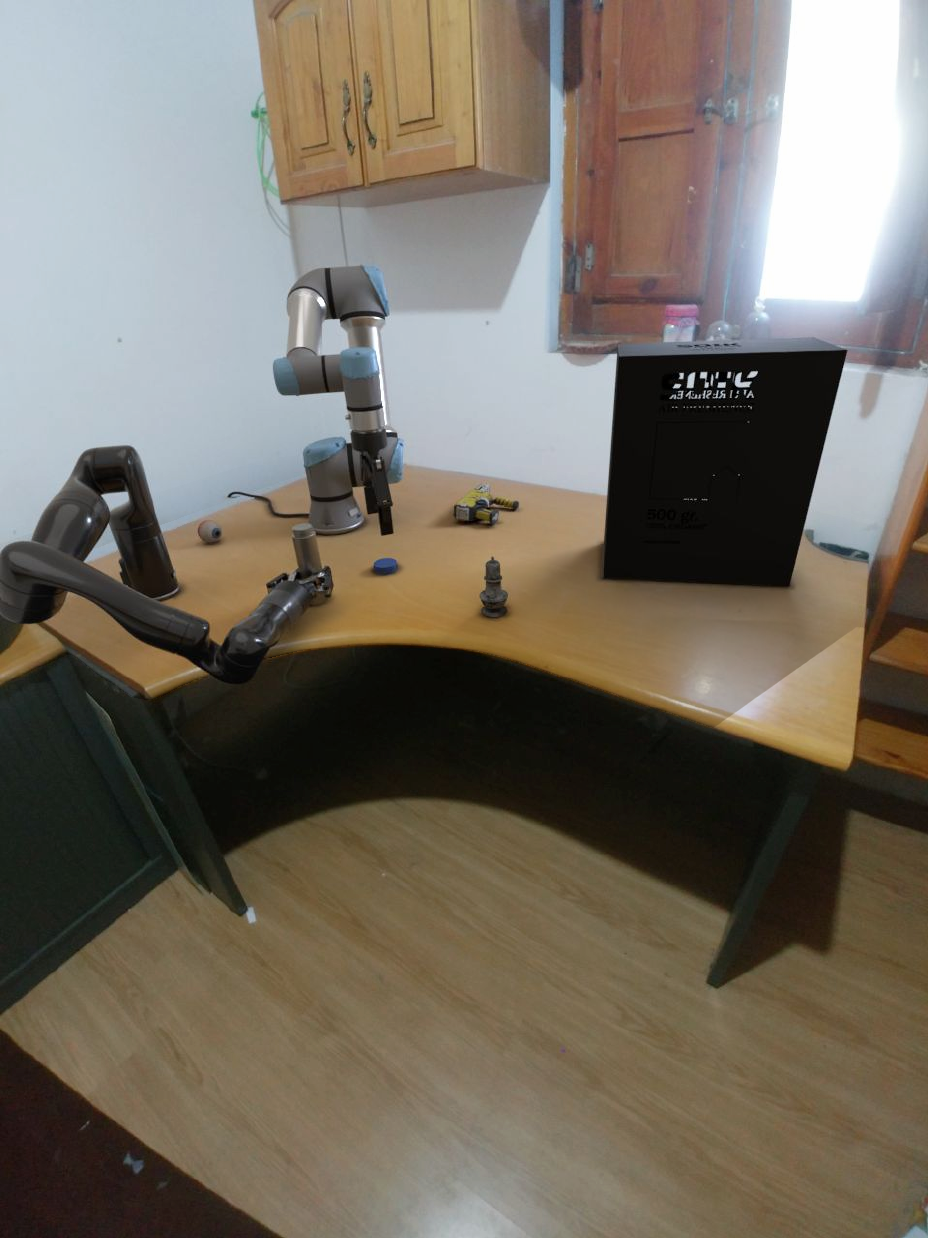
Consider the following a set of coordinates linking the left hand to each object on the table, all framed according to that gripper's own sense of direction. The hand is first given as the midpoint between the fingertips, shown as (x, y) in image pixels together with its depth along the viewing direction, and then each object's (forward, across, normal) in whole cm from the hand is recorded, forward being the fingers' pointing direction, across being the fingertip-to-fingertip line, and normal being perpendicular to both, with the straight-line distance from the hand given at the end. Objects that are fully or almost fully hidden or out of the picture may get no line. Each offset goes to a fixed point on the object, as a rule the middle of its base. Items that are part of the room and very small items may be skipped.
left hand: (316, 569), depth 130 cm
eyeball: (+27, -42, -6) cm, 50 cm away
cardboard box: (+22, +80, -6) cm, 83 cm away
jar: (-3, 0, -6) cm, 7 cm away
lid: (+13, +11, -5) cm, 18 cm away
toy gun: (+54, +30, -6) cm, 62 cm away
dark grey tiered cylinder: (-4, +39, -6) cm, 40 cm away
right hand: (+14, +10, +5) cm, 19 cm away
